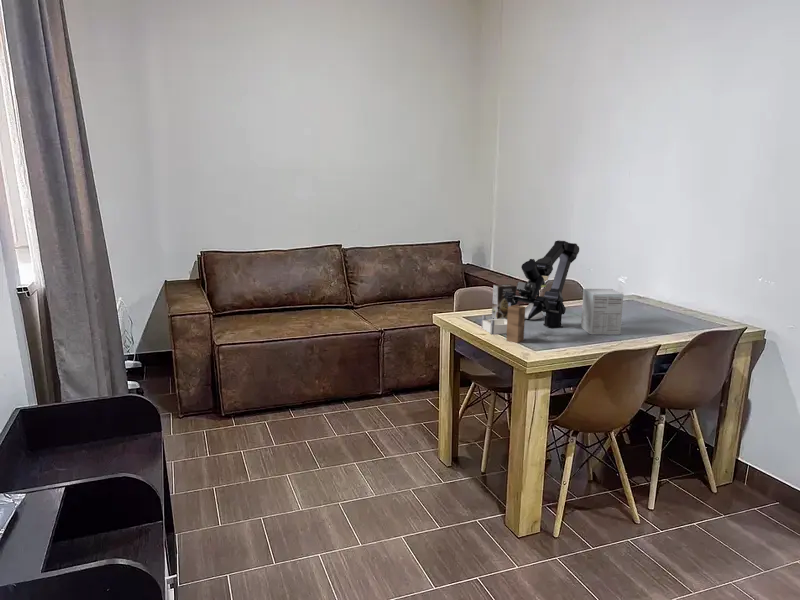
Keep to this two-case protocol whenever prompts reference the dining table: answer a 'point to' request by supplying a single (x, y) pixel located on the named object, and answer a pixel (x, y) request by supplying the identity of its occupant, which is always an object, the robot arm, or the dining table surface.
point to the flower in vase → (529, 307)
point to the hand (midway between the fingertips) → (518, 316)
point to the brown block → (515, 323)
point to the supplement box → (602, 311)
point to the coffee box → (501, 300)
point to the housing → (494, 325)
